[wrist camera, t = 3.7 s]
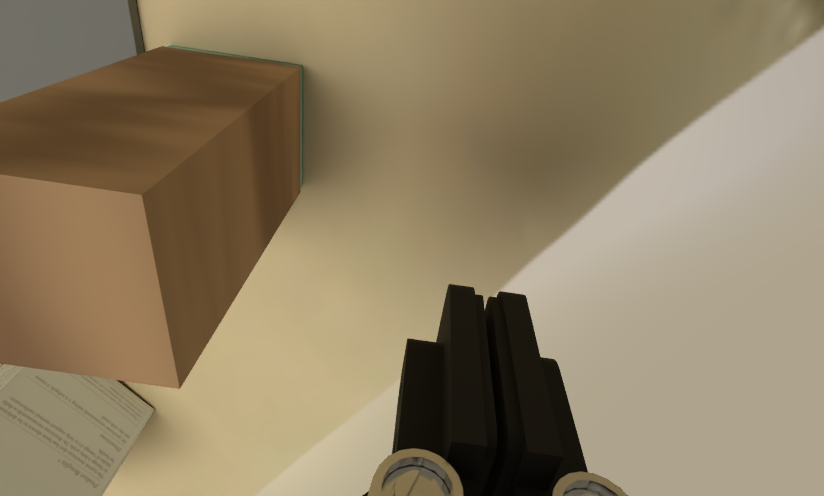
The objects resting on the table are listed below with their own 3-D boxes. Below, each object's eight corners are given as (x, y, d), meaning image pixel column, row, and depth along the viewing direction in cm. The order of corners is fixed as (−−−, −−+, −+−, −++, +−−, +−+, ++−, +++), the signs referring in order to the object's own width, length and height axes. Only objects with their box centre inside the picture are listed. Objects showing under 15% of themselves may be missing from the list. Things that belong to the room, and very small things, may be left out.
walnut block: (304, 64, 18) (141, 195, 8) (303, 186, 20) (179, 388, 11) (168, 44, 18) (-147, 153, 8) (186, 169, 20) (-38, 358, 11)
